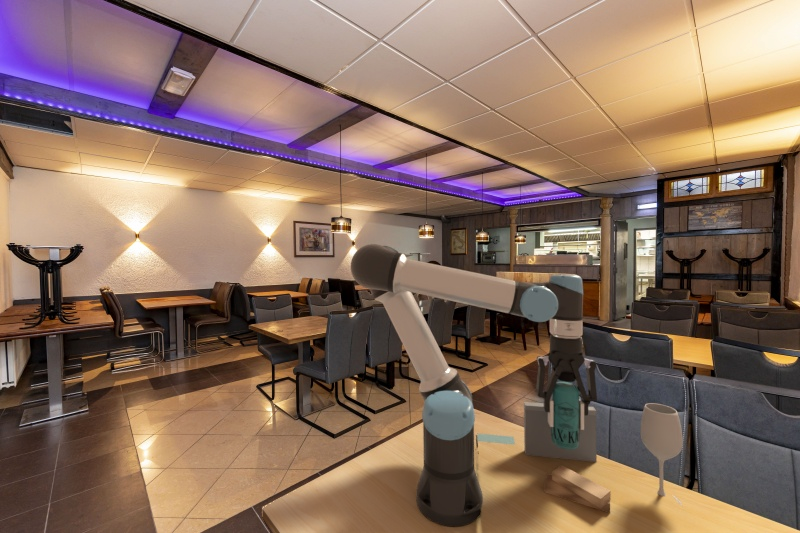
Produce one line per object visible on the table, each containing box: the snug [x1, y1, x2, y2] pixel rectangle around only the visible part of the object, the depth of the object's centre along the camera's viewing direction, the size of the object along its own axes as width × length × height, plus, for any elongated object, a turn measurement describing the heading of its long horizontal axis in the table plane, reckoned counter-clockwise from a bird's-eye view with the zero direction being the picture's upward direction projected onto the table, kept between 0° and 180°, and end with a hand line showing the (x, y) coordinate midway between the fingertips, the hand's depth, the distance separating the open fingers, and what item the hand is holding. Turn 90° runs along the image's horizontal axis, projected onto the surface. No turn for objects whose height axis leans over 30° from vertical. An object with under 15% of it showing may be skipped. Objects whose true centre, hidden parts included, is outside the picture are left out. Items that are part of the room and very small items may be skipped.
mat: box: [476, 433, 516, 455], centre depth 99 cm, size 11×11×1 cm
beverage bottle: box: [551, 372, 580, 450], centre depth 84 cm, size 6×7×20 cm
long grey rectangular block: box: [523, 401, 598, 463], centre depth 91 cm, size 18×2×15 cm, turn 78°
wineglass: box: [640, 402, 684, 507], centre depth 76 cm, size 8×8×21 cm
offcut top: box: [551, 464, 612, 508], centre depth 75 cm, size 11×4×2 cm, turn 33°
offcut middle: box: [543, 473, 611, 514], centre depth 75 cm, size 13×4×2 cm, turn 59°
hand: (565, 425), depth 84 cm, fingers closed on beverage bottle, 6 cm apart
